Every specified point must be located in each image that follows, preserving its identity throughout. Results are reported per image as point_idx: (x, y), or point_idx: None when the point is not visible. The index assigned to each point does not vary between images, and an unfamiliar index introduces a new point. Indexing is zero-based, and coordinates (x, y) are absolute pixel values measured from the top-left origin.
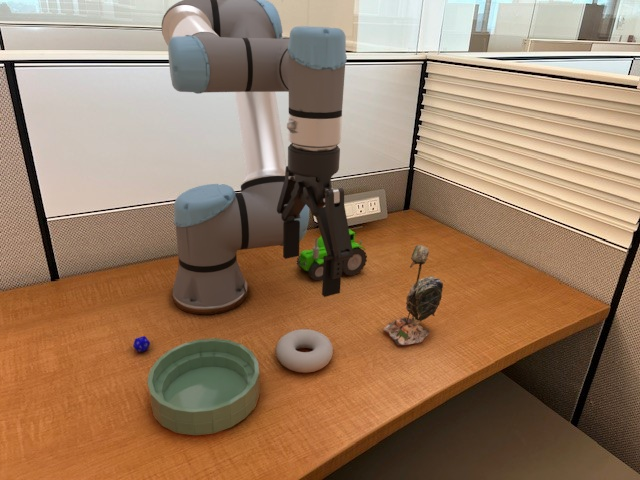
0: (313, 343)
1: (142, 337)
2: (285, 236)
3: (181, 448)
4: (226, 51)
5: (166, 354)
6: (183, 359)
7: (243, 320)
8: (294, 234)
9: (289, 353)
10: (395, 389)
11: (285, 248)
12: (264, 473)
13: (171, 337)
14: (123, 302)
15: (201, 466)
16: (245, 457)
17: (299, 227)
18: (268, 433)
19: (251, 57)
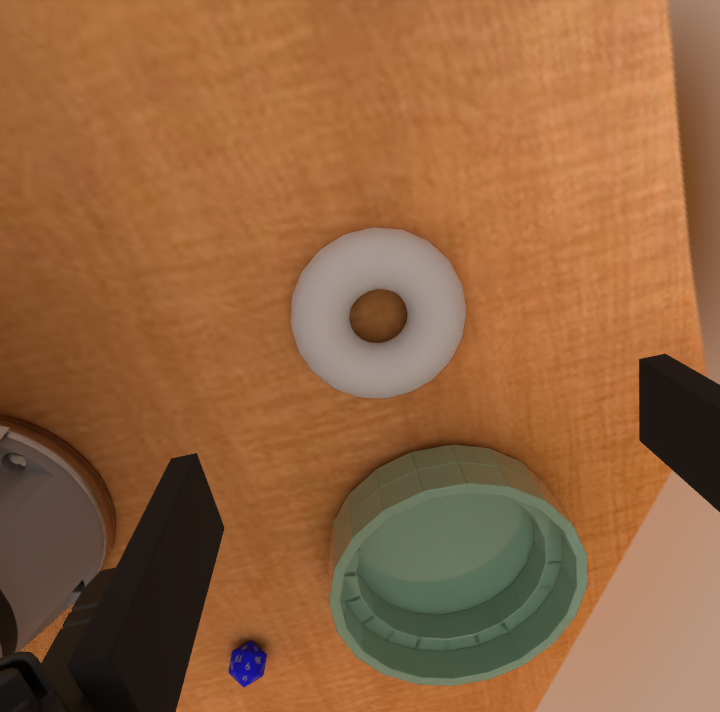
0: (371, 289)
1: (240, 676)
2: (189, 648)
3: None
4: None
5: (370, 660)
6: (355, 605)
7: (154, 438)
8: (165, 596)
9: (417, 379)
10: (595, 82)
11: (211, 575)
12: None
13: (209, 600)
14: None
15: (609, 553)
16: (625, 487)
17: (134, 608)
18: (590, 441)
19: None
